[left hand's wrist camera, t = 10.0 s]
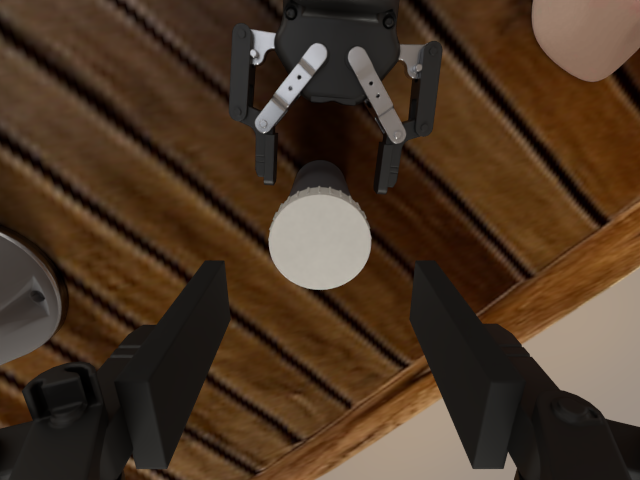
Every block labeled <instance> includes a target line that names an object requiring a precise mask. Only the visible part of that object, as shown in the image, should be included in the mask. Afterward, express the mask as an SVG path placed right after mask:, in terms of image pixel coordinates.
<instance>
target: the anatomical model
mask: <svg viewBox="0 0 640 480" xmlns="http://www.w3.org/2000/svg"><path fill="white" fill-rule="evenodd" d="M532 27H533V31H534V34H535V37H536V39H537V41H538V43H539V45H540V46H541V48H542V49H543V50H544V52H545V53H546V54H547V55H548V56H549V57H550V58H551V59H552V60H553V61H554V62H555V63H556V64H557V65H559V66H560V67H561V68H562V69H564V70H565V71H567V72H568V73H570V74H572V75H573V76H575V77H577V78H579V79H582V80H584V81H589V82H595V81H599V80H602V79H604V78H606V77H607V76H609V75H610V74H612V73H613V72H614V71H615V70H617V69H618V68H619V67H620V66H621V65H622V64H623V63H624V62H625V61H626V60H627V59H629V58H630V57H631V56H632V55H633V54H634V53H635V52H636V51H637V50H638V49H639V48H640V0H533V5H532Z"/></svg>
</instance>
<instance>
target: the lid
mask: <svg viewBox="0 0 640 480" xmlns="http://www.w3.org/2000/svg"><path fill="white" fill-rule="evenodd" d="M366 219H367V218H366V216H365V214H364V211H361V209H360V207H359V204H358V203H355V201H354V200H352V199H351V196H350V195H349V196H347V195H346V194H344V193H342V191H341V190H340V191H338V190H335V189H331V187H329V188H324V187H320V186H318V187H316V188H309V187H308V188H307V189H305V190H303V191H300V192H299V191H297V193H296V194H294V195H293V196H291V197H290V196H289V197H288V199H287V201H285V203H284V204H281V206H280V208H279V210H278V213H277V212H276V213H275V216H274V218H273V220H274V222H272V224H271V227H270V229H269V230H270V235H269V239H268V240H269V249H270V253H271V257H272V259H273V262H274V263H275V265H276V267H277V268H278V270H279V271H280V272H281V273H282V274H283V275H284V276H285V277H286V278H287V279H289V280H290V281H292V282H293V283H295V284H297V285H299V286H302V287H305V288H309V289H318V290H322V289H331V288H335V287H338V286H341V285H343V284H345V283H347V282H348V281H350V280H351V279H353V278H354V277H355V276H356V275H357V274H358V273H359V272H360V271H361V270H362V268H363V267H364V265H365V263H366V262H367V259H368V257H369V253H370V249H371V239H372V238H371V235H370V230H369V229H370V226H369V224H368V221H367V220H366Z"/></svg>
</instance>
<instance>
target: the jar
mask: <svg viewBox="0 0 640 480" xmlns="http://www.w3.org/2000/svg"><path fill="white" fill-rule="evenodd" d="M318 186H320V187H324V188H329V187H331V189H335V190H338V191H340V190H341V191H342V193H344V194H346V195H347V196H349V195H350V193H349V190H348V187H347V184H346V181H345V178H344V176H343V174H342V172H341V170H340V169H339V168H338V167H337V166H336V165H334V164H333V163H331V162H328V161H324V160H316V161H312V162H309V163H307V164H306V165H304V166H303V167H302V168H301V169H300V170H299V172H298V174H297V176H296V178H295V181H294V184H293V187H292V190H291V193H290V195H289V196H290V197H291V196H293V195H294V194H296V193H297V191H299V192H300V191H303V190H305V189H307V188H308V187H309V188H316V187H318ZM350 196H351V195H350ZM351 199H352V198H351Z"/></svg>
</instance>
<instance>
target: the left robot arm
mask: <svg viewBox="0 0 640 480" xmlns="http://www.w3.org/2000/svg"><path fill="white" fill-rule="evenodd" d="M67 310H68V296H67V291H66V288H65V284H64V282H63V280H62V277H61V275H60V274H59V272H58V270H57V269H56V267H55V265H54V264H53V263H52V262H51V260H50V259H49V258H48V257H47V256H46V255H45V253H44V252H42V251H41V250H40V249H39V248H38V247H37V246H36V245H35V244H33V243H32V242H31V241H29V240H28V239H26V238H25V237H23V236H22V235H20V234H18V233H16V232H14V231H12V230H10V229H8V228H6V227H3V226H0V365H2V364H4V363H6V362H9V361H11V360H14V359H16V358H18V357H21V356H23V355H26V354H28V353H30V352H32V351H33V350H35V349H37V348H39V347H40V346H42V345H43V344H44V343H46V342H47V341H48V340H49V339H50V338H51V337H53V336H54V335H55V334H56V333H57V332H58V331H59V329H60V328H61V327H62V325H63V323H64V321H65V319H66V315H67ZM229 322H230V310H229V301H228V291H227V282H226V272H225V263H224V261H205V262H204V263H203V264H202V266H201V267H200V268H199V269H198V271H197V272H196V273H195V275H194V276H193V277H192V279H191V280H190V281H189V283H188V284H187V285H186V287H185V288H184V289H183V291H182V292H181V293H180V295H179V296H178V297H177V299H176V300H175V301H174V303H173V304H172V305H171V307H170V308H169V309H168V310H167V312H166V313H165V314H164V316H163V317H162V318H161V320H160V321H159V322H158V324H157V325H142V326H141V327H139V328H138V329H136V330H135V331H133V332H132V333H130V334H129V335H128V336H127V337H126V338H125V339H124V340H123V342H122V343H121V344H120V345H119V348H117V349H116V350H115V351H114V352H113V353H112V355H111V357H110V358H108V359H107V360H106V362H105V363H104V364H103V365H102V366H101V368H100V369H99V370H98V371H97V372H96V370H95V367H94V366H92V365H91V364H90V363H85V362H72V363H66V364H63V365H59V366H56V367H53V368H51V369H49V370H47V371H45V372H43V373H41V374H40V375H38V376H37V377H36V378H34V379H33V380H32V381H30V382H29V383H28V384H27V386H26V387H25V388H24V389H23V391H22V393H23V396H24V398H25V401H26V403H27V406H28V409H29V411H30V414H31V417H32V419H33V421H31V422H26V423H22V424H18V425H14V426H10V427H5V428H1V429H0V480H125V474H124V470H123V469H124V467H125V465H126V463H127V461H128V459H129V458H130V456H131V454H132V453H133V457H134V461H135V465H136V469H167V468H168V466H169V463H170V461H171V458H172V456H173V454H174V451H175V449H176V447H177V444H178V442H179V440H180V437H181V435H182V433H183V430H184V428H185V426H186V423H187V421H188V418H189V416H190V414H191V411H192V409H193V407H194V404H195V402H196V400H197V397H198V395H199V393H200V390H201V388H202V385H203V383H204V381H205V378H206V376H207V374H208V371H209V369H210V367H211V364H212V362H213V360H214V357H215V355H216V353H217V350H218V348H219V345H220V343H221V341H222V338H223V336H224V334H225V331H226V329H227V327H228V324H229ZM410 322H411V324H412V327H413V329H414V331H415V334H416V336H417V338H418V341H419V343H420V345H421V348H422V350H423V353H424V355H425V357H426V360H427V362H428V364H429V367H430V369H431V371H432V374H433V376H434V378H435V381H436V383H437V385H438V388H439V390H440V393H441V395H442V397H443V400H444V402H445V404H446V407H447V409H448V411H449V414H450V416H451V418H452V421H453V423H454V426H455V428H456V430H457V433H458V435H459V437H460V440H461V442H462V444H463V447H464V449H465V451H466V454H467V456H468V458H469V461H470V463H471V466H472V468H473V469H503V468H504V465H505V461H506V457H507V453H508V452H509V454H510V456H511V458H512V459H513V461H514V463H515V465H516V467H517V471H516V474H515V478H514V480H640V427H637V426H633V425H628V424H624V423H620V422H616V421H612V420H608V419H605V418H604V416H603V415H602V413H601V412H600V411H599V410H598V409H597V408H596V407H594V406H593V405H592V404H591V403H590V402H588V401H586V400H584V399H583V398H581V397H579V396H577V395H575V394H572V393H569V392H566V391H562V390H560V389H559V388H558V387H557V386H556V385H555V383H554V382H553V381H552V380H551V379H550V378H549V376H548V375H547V374H546V373H545V372H544V371H543V369H542V368H541V367H540V366H539V365H538V364H537V362H536V361H535V360H534V359H533V358H532V357H530V354H529V353H528V352H527V351H526V349H525V348H524V347H522V345H521V344H520V342H519V341H518V340H517V339H516V338H515V337H514V335H513V334H512V333H510V332H509V331H507V330H506V329H504V328H503V327H501V326H500V325H498V324H482V322H481V321H480V320H479V318H478V317H477V316H476V314H475V313H474V312H473V310H472V309H471V308H470V307H469V305H468V304H467V303H466V301H465V300H464V299H463V297H462V296H461V295H460V293H459V292H458V291H457V289H456V288H455V287H454V285H453V284H452V283H451V281H450V280H449V279H448V277H447V276H446V275H445V273H444V272H443V271H442V269H441V268H440V267H439V266H438V264H437V263H436V262H435V261H416V263H415V272H414V282H413V291H412V301H411V310H410Z"/></svg>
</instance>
